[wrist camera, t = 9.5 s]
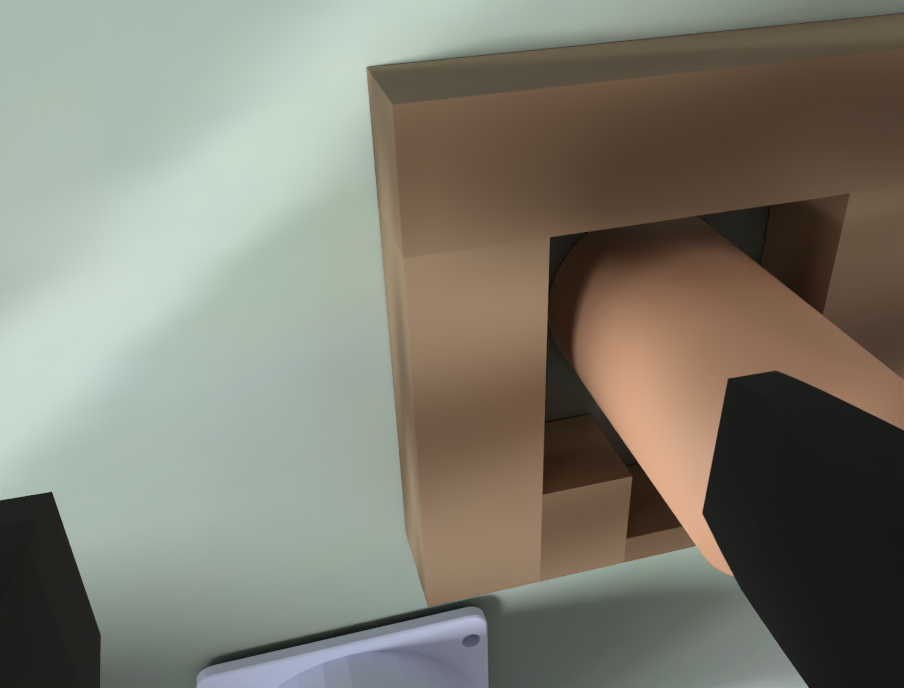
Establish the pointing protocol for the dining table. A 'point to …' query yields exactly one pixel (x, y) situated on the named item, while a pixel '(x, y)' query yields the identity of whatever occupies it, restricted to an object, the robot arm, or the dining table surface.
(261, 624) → the dining table surface
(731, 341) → the terracotta peg
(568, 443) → the keyhole board
